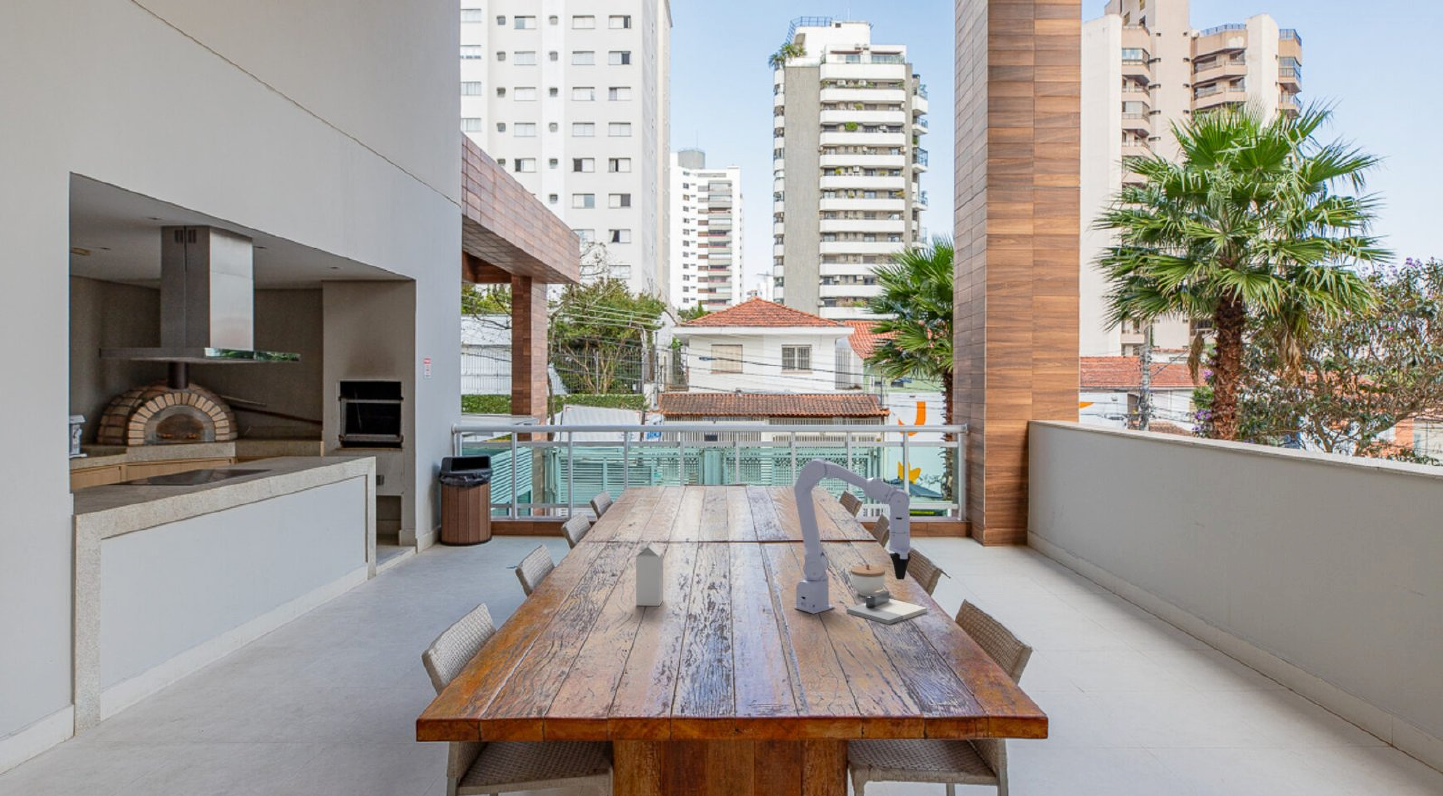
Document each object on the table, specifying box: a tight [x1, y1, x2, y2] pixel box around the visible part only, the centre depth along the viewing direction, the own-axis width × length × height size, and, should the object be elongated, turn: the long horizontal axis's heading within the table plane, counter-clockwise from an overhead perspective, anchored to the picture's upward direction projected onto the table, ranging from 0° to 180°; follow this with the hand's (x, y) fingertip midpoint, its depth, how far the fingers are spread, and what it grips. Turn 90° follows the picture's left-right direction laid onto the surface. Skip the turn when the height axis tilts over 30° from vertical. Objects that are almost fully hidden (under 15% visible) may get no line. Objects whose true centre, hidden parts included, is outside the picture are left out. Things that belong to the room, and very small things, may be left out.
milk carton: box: [635, 538, 664, 607], centre depth 232 cm, size 7×7×19 cm
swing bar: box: [865, 589, 890, 608], centre depth 225 cm, size 10×3×3 cm, turn 138°
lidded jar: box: [850, 563, 886, 597], centre depth 242 cm, size 11×11×9 cm
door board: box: [846, 589, 928, 625], centre depth 221 cm, size 18×15×4 cm
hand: (900, 578), depth 219 cm, fingers closed
